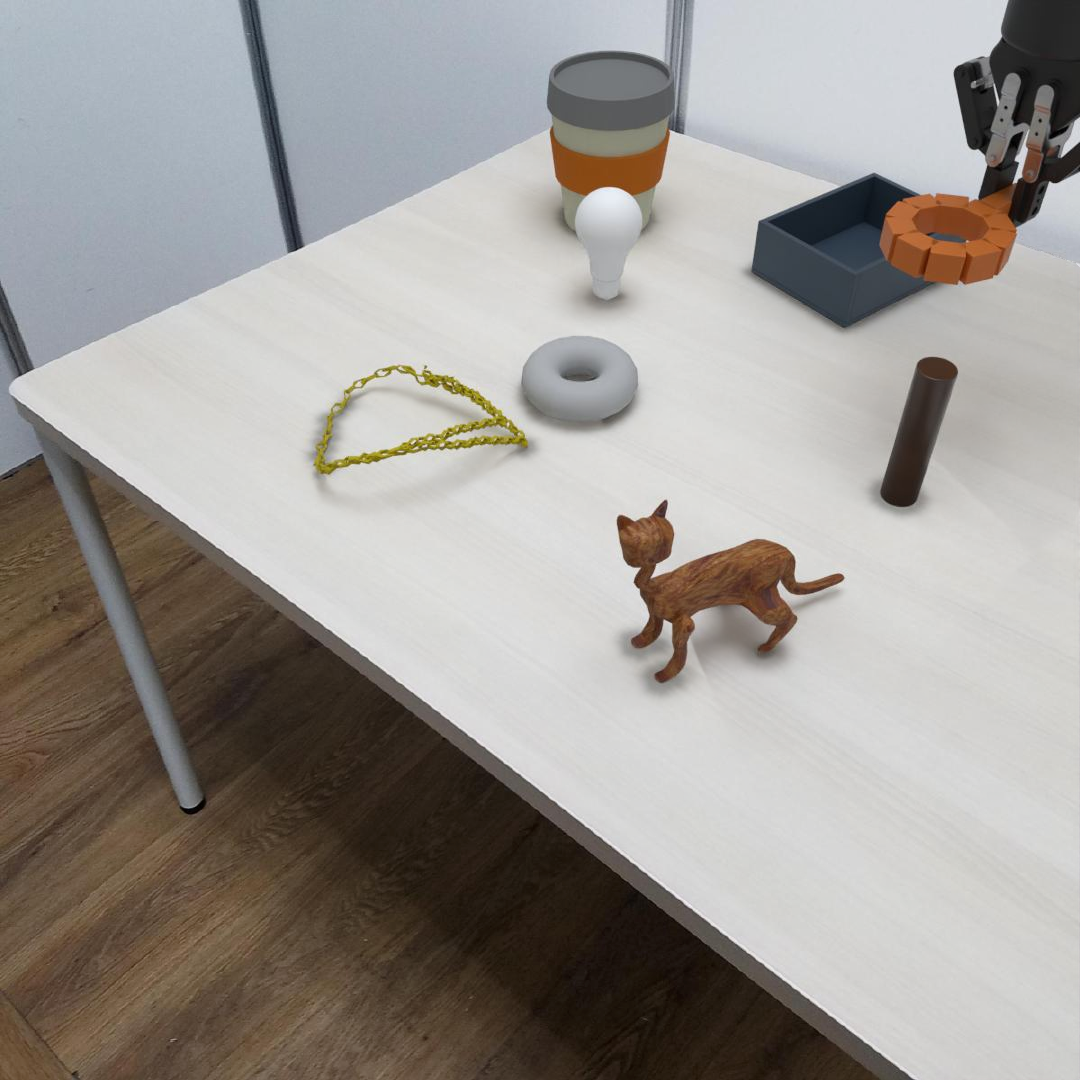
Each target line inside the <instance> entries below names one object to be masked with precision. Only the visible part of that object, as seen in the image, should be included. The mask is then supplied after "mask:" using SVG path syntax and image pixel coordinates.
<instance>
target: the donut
mask: <svg viewBox="0 0 1080 1080" xmlns="http://www.w3.org/2000/svg"><path fill="white" fill-rule="evenodd" d="M575 375H576V376H577V375H579V376H581V375H583V376H589V377H593V378H594V379H592V380H587V381H573V380H569V379H566V377H571V376H575ZM520 381H521V382H520V384H521V388H522V390H523V392H524V394H525V397H526V399H527V400H528V402H529V403H530V404H532V405H533V407H535V408H536V409H537V410H538V411H539V412H541V413H543V414H545V415H547V416H549V417H551V418H553V419H556V420H560V421H564V422H570V423H591V422H595V421H596V422H597V421H601V420H604V419H606V418H609V417H611V416H613V415H615V414H618V413H619V412H621V411H622V410H623V409H624V408H626V407H627V406H628V405H630V403H631V401H632V400H633V398H634V396H635V394H636V392H637V390H638V386H639V372H638V368H637V366H636V364H635V362H634V361H633V358H632V357H631V355H630V354H629V353H628V352H627V351H625V350H624V349H622V348H621V347H620V346H619V345H617V343H616V344H615V343H614V342H611V341H609V340H607V339H604V338H599V337H595V336H591V335H569V336H565V337H559V338H556V339H553V340H551V341H548V342H546V343H544V344H542V345H541V346H539V347H538V348H536V350H534V351H533V352H532V353H530V355H529V356H528V358H527V360H526V361H525V363H524V365H523V366H522V371H521V380H520Z"/></svg>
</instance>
